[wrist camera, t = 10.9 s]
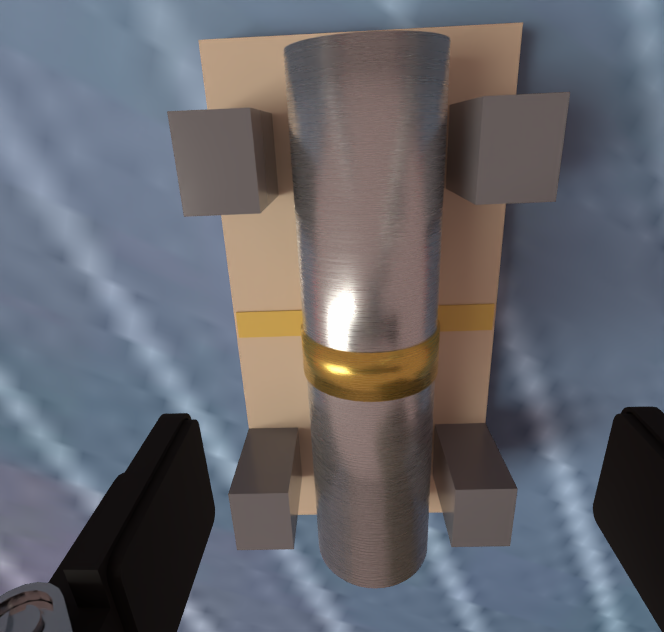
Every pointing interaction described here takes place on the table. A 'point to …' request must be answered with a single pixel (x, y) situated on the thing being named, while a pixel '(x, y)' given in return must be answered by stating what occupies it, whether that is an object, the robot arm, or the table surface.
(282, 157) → the plate
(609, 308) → the table surface
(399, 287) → the tube
